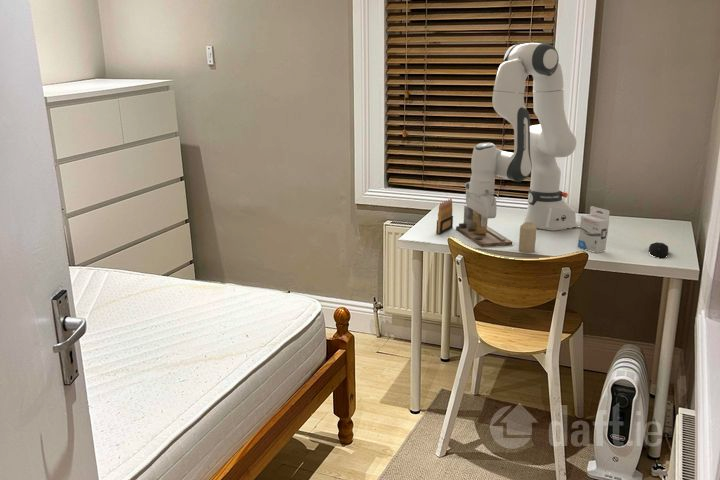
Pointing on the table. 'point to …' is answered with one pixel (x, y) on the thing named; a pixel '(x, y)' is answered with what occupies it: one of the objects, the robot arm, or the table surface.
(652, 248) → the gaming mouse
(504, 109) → the robot arm
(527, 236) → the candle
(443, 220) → the ammunition clip
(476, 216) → the block
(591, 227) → the ink box
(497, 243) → the gauge board
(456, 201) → the table surface
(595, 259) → the table surface
